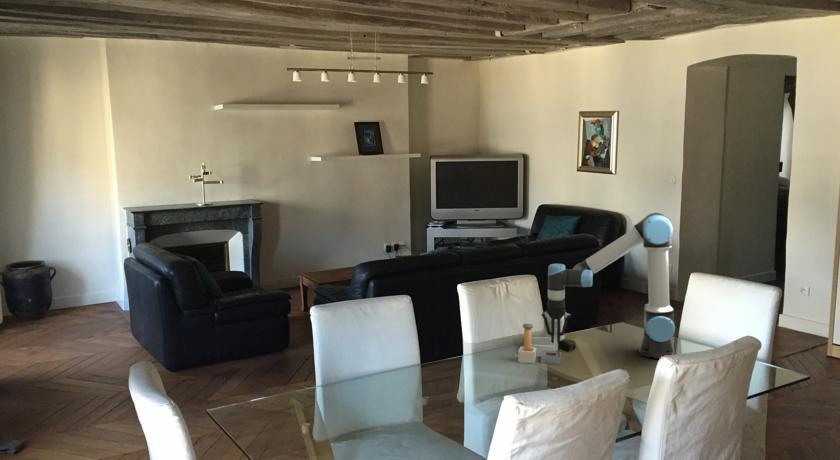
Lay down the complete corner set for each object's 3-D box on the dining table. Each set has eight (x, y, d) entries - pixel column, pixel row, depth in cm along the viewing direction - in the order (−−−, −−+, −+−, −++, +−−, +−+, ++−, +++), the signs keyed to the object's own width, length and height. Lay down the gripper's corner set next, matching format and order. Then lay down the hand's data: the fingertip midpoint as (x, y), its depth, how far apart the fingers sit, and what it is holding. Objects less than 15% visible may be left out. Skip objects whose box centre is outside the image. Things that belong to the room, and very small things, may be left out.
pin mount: (560, 358, 316) (561, 352, 316) (559, 364, 308) (559, 357, 308) (542, 357, 318) (542, 350, 318) (540, 362, 310) (540, 356, 310)
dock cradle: (556, 348, 331) (556, 337, 331) (554, 357, 318) (554, 346, 317) (528, 346, 335) (528, 336, 334) (524, 355, 321) (524, 344, 320)
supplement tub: (568, 343, 339) (568, 313, 337) (556, 347, 333) (556, 316, 331) (551, 339, 346) (551, 309, 344) (539, 343, 340) (539, 313, 338)
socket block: (536, 358, 316) (536, 347, 316) (534, 363, 310) (534, 352, 309) (520, 357, 318) (520, 346, 318) (518, 362, 311) (518, 351, 311)
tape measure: (556, 347, 330) (558, 339, 329) (567, 344, 334) (568, 337, 333) (567, 353, 325) (569, 346, 324) (578, 350, 329) (579, 343, 328)
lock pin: (533, 359, 315) (533, 324, 313) (531, 362, 311) (532, 326, 309) (523, 358, 316) (523, 323, 314) (521, 361, 312) (522, 325, 310)
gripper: (571, 297, 323) (570, 348, 326) (542, 296, 327) (541, 346, 330) (570, 301, 316) (569, 353, 319) (540, 299, 319) (540, 351, 322)
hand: (555, 349), depth 324 cm, fingers closed
